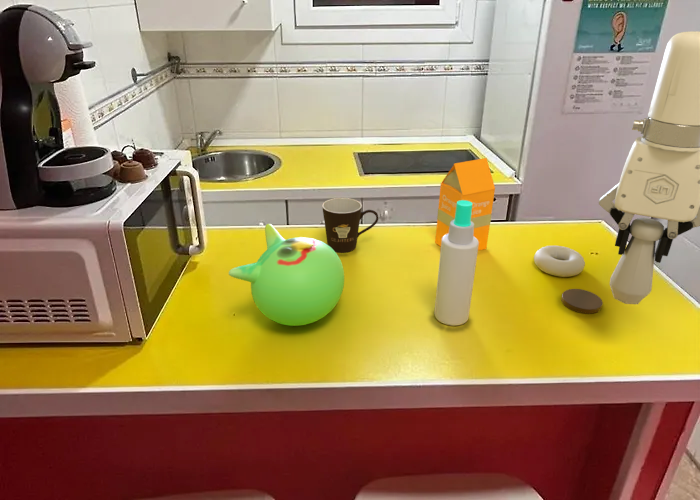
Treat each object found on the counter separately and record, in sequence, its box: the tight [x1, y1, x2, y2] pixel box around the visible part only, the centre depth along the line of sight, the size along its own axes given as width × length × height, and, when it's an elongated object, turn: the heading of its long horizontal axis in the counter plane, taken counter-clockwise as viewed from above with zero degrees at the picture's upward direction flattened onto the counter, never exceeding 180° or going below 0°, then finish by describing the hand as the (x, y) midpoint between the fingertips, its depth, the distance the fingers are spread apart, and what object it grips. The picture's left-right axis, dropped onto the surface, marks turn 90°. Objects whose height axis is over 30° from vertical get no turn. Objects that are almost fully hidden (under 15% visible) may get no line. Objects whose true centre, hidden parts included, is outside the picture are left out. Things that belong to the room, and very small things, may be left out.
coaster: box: [560, 288, 604, 315], centre depth 97 cm, size 7×7×1 cm
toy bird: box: [228, 223, 345, 327], centre depth 90 cm, size 18×17×15 cm
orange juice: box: [434, 157, 496, 252], centre depth 113 cm, size 8×9×20 cm
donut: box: [533, 245, 586, 278], centre depth 108 cm, size 10×4×10 cm
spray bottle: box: [434, 200, 479, 327], centre depth 88 cm, size 6×6×22 cm
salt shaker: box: [609, 217, 665, 305], centre depth 78 cm, size 6×6×13 cm
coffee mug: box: [321, 197, 379, 254], centre depth 114 cm, size 12×9×10 cm
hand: (639, 253), depth 77 cm, fingers closed on salt shaker, 4 cm apart
